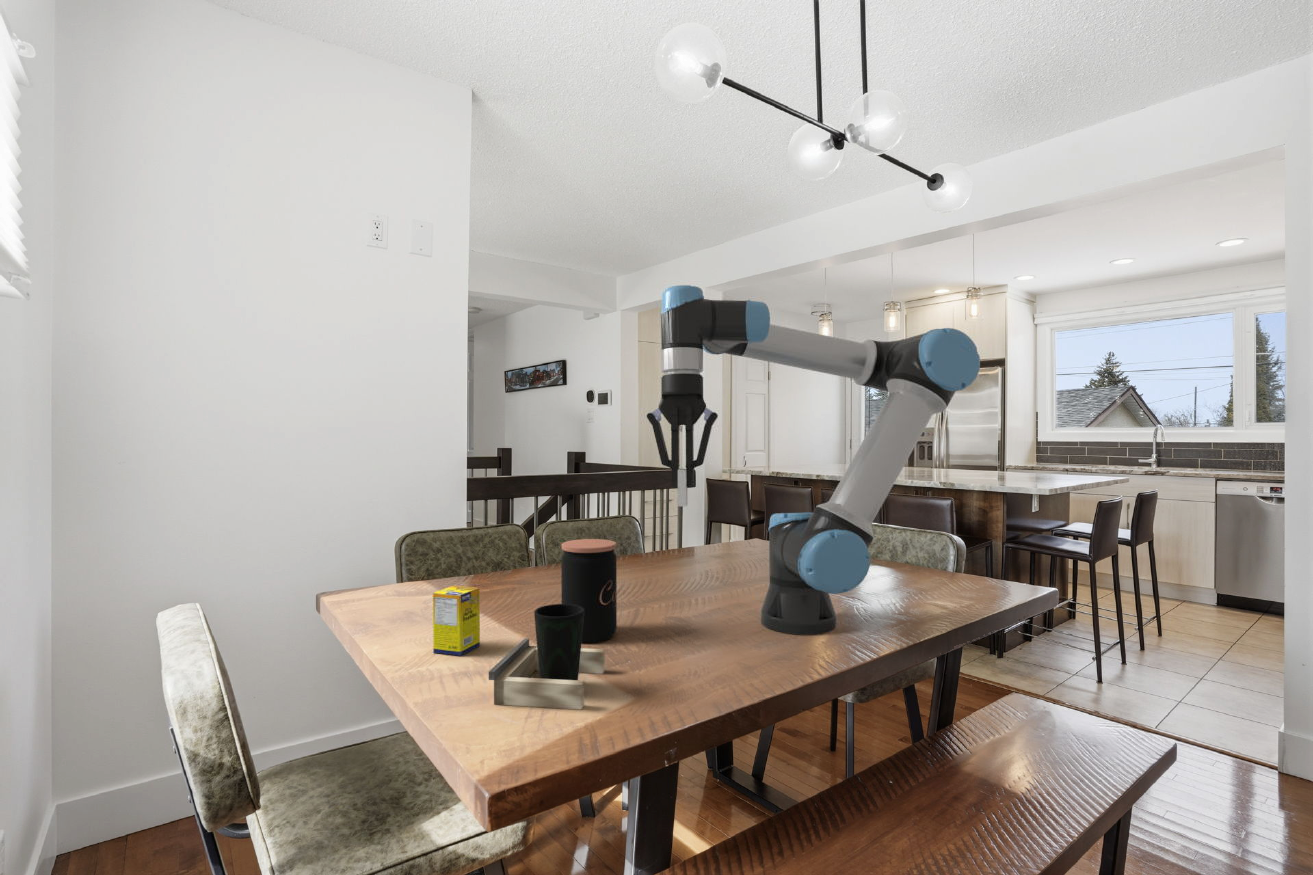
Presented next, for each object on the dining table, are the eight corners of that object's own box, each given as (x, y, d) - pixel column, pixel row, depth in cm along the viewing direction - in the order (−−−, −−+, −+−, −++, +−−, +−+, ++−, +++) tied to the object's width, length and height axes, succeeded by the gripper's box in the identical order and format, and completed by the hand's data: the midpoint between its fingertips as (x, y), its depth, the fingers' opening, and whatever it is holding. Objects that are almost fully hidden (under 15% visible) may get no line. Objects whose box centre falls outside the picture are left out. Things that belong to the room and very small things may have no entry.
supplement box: (480, 646, 116) (480, 587, 116) (460, 656, 110) (460, 594, 110) (453, 642, 117) (453, 584, 117) (432, 653, 112) (432, 592, 112)
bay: (604, 670, 103) (604, 641, 103) (581, 709, 88) (581, 676, 88) (524, 666, 105) (524, 638, 105) (488, 703, 90) (488, 671, 90)
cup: (536, 679, 99) (536, 604, 99) (584, 677, 100) (584, 603, 100) (531, 699, 92) (531, 617, 92) (583, 697, 92) (584, 616, 92)
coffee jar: (608, 646, 115) (607, 548, 115) (553, 642, 117) (553, 547, 117) (622, 628, 126) (622, 539, 126) (572, 625, 128) (572, 538, 128)
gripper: (719, 375, 115) (719, 503, 115) (649, 376, 117) (649, 502, 117) (717, 371, 107) (718, 508, 107) (643, 372, 109) (643, 507, 109)
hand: (682, 505), depth 112 cm, fingers closed
